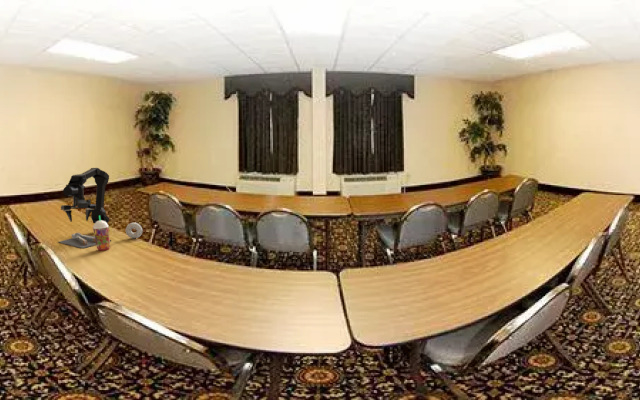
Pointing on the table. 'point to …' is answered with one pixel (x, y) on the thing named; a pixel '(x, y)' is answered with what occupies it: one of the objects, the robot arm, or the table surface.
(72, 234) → the tong fixed arm
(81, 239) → the tong moving arm
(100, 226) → the smoothie
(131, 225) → the donut
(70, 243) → the rubber mat
